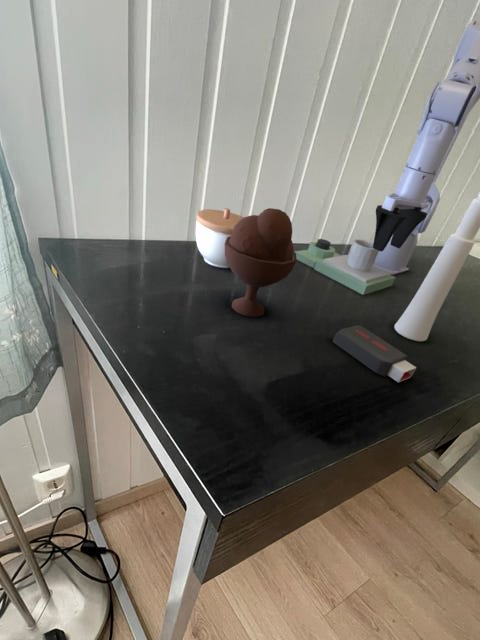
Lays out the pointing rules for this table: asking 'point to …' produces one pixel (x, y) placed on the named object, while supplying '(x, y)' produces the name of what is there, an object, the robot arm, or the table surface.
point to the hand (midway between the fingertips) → (386, 248)
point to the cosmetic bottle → (440, 278)
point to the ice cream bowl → (260, 255)
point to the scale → (354, 275)
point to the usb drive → (374, 353)
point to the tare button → (323, 244)
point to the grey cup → (361, 255)
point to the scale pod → (315, 254)
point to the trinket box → (214, 234)
